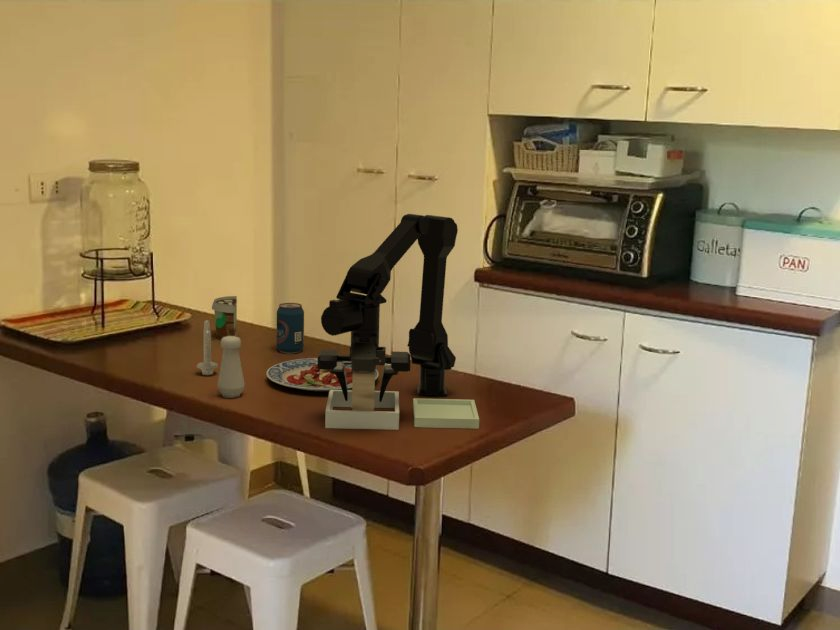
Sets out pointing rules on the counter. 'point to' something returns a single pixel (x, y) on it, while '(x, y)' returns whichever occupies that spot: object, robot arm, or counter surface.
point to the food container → (225, 316)
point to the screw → (207, 352)
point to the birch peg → (363, 391)
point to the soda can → (290, 328)
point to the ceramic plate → (308, 375)
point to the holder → (362, 412)
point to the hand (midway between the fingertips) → (363, 400)
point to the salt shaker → (230, 368)
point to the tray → (445, 413)
